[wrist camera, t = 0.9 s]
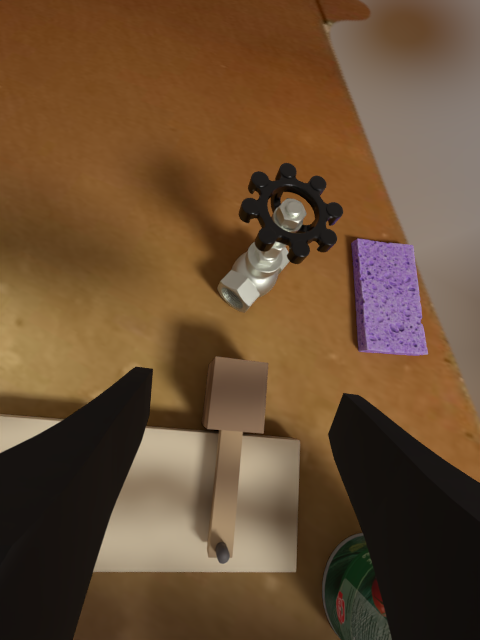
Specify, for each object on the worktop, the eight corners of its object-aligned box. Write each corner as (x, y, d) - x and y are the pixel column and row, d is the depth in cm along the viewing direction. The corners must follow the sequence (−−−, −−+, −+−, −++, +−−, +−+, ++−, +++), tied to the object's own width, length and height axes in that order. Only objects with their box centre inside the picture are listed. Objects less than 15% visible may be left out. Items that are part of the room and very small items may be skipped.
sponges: (355, 352, 30) (366, 349, 29) (348, 243, 34) (357, 234, 32) (415, 357, 32) (429, 355, 30) (402, 251, 35) (414, 243, 33)
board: (286, 558, 24) (296, 572, 22) (-95, 554, 19) (-125, 571, 17) (291, 437, 26) (300, 440, 24) (-44, 410, 22) (-65, 411, 20)
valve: (202, 283, 28) (218, 203, 17) (244, 240, 31) (284, 144, 19) (254, 328, 28) (306, 278, 17) (293, 282, 30) (362, 210, 19)
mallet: (239, 535, 23) (254, 569, 19) (188, 534, 23) (191, 568, 18) (252, 369, 27) (268, 362, 22) (208, 364, 26) (215, 356, 22)
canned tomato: (346, 673, 22) (493, 906, 12) (306, 561, 24) (406, 683, 13) (424, 614, 25) (606, 768, 14) (383, 515, 26) (521, 589, 16)
